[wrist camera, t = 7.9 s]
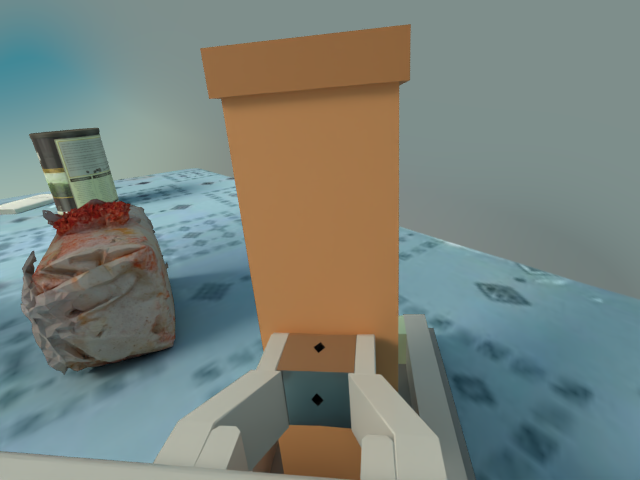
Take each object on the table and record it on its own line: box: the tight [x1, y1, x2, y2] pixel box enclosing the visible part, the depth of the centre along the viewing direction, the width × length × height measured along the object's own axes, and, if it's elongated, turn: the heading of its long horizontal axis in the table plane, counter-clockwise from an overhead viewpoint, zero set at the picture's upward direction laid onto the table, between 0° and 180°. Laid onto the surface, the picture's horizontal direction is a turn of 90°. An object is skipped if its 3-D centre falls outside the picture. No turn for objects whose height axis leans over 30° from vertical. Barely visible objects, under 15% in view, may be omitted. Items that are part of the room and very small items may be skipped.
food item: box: [21, 199, 175, 375], centre depth 26 cm, size 14×8×10 cm, turn 30°
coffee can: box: [29, 128, 119, 215], centre depth 64 cm, size 10×10×14 cm
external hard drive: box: [0, 194, 54, 214], centre depth 73 cm, size 2×8×12 cm
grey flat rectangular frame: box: [251, 314, 476, 480], centre depth 14 cm, size 18×10×3 cm, turn 173°
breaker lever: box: [200, 24, 411, 480], centre depth 12 cm, size 4×4×15 cm
